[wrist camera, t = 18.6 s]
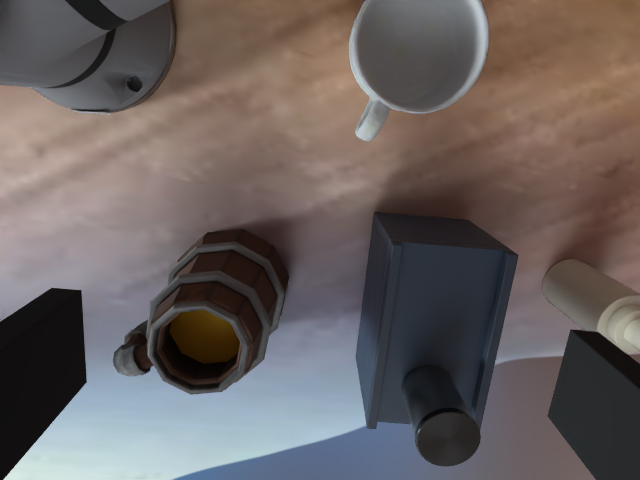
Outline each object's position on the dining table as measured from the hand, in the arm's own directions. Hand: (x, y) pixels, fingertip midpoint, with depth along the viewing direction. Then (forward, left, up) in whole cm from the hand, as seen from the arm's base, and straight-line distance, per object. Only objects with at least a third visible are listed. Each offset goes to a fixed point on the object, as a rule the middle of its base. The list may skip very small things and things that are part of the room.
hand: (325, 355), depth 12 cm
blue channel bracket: (+12, +11, -35) cm, 38 cm away
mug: (+13, -10, -35) cm, 39 cm away
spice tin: (+16, +11, -24) cm, 31 cm away
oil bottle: (+9, +28, -35) cm, 46 cm away
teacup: (-11, +6, -35) cm, 37 cm away
